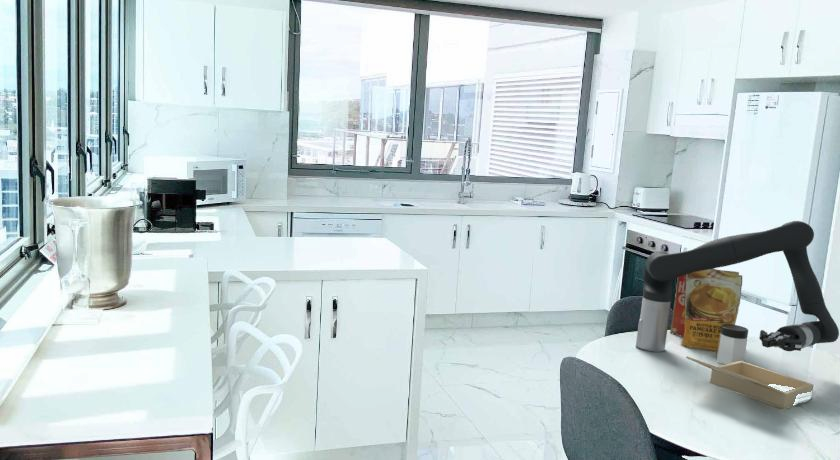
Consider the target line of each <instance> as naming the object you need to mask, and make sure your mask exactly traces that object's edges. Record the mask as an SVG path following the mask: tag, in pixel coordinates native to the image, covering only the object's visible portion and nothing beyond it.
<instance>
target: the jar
mask: <svg viewBox="0 0 840 460" xmlns="http://www.w3.org/2000/svg"><path fill="white" fill-rule="evenodd" d="M748 334H749V329H748V328H747V327H744V326H741V325H737V324H735V325H732V324H723V325H722V326H721V332H720V339H719V345H718V352H716V362H717V363H718V364H721V365H726V364H730V363H733V362H737V361H743V362H745V358H746V351H747V345H748Z"/></svg>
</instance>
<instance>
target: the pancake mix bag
mask: <svg viewBox="0 0 840 460" xmlns="http://www.w3.org/2000/svg"><path fill="white" fill-rule="evenodd" d="M742 286H743V275H742V274H740V272H739V271H733V270H722V269H718V268H714V269H708V270H702V271H696V272H692V273H689V274H686V292H685V307H686V312H685V322H684V323H685V331H684V337H683V336H682V340H681V343H680V346H684V347H687V348H688V349H689V348H691V349H695V350H702V351H709V352H716V353H717V352H718V345H719V339H720V332H721V326H722V325H723V324H732V325H736V322H737V318H738V315H739V314H738V313H739V309H740V308H739V307H740V304H741V295H742Z"/></svg>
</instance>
